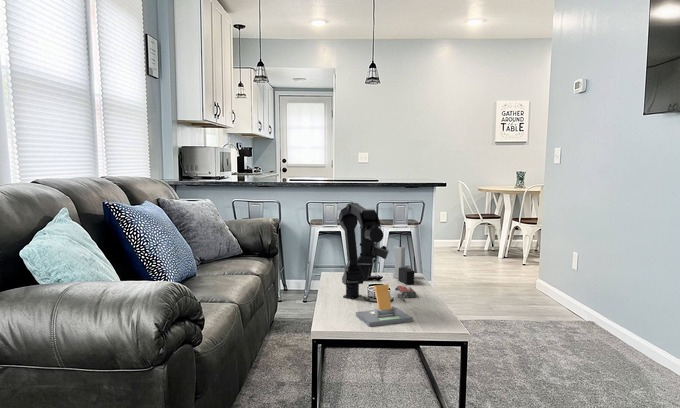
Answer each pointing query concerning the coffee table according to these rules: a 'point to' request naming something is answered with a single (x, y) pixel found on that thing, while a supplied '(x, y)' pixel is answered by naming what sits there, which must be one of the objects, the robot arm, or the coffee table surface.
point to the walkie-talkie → (405, 292)
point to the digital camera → (406, 275)
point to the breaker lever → (383, 299)
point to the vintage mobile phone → (399, 258)
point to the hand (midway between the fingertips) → (367, 278)
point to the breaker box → (383, 317)
